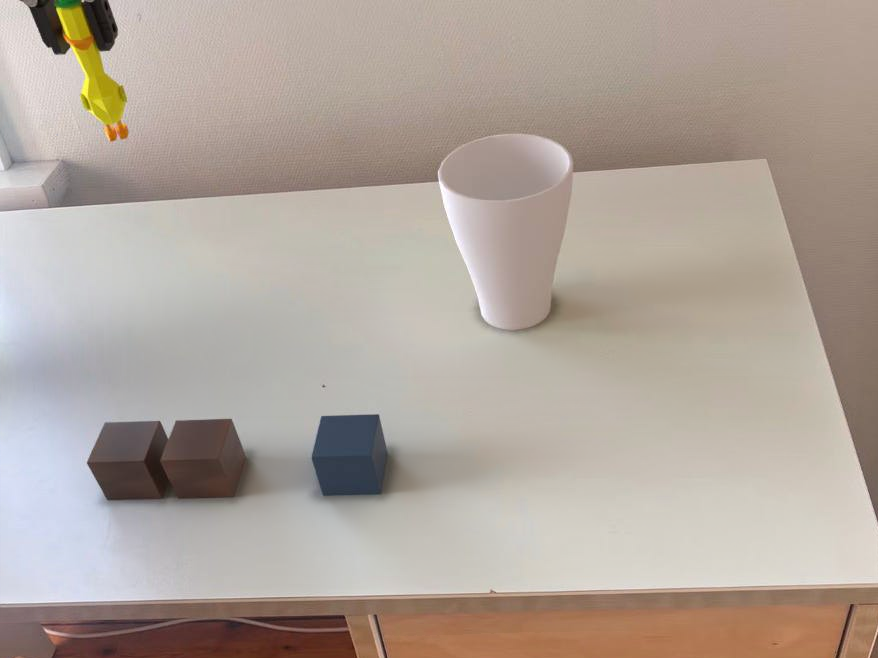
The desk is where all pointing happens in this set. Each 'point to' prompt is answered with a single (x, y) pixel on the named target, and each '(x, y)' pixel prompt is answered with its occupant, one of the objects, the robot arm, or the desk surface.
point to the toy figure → (92, 70)
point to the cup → (509, 221)
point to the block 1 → (130, 460)
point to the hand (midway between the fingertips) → (85, 48)
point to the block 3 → (350, 455)
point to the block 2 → (204, 458)
